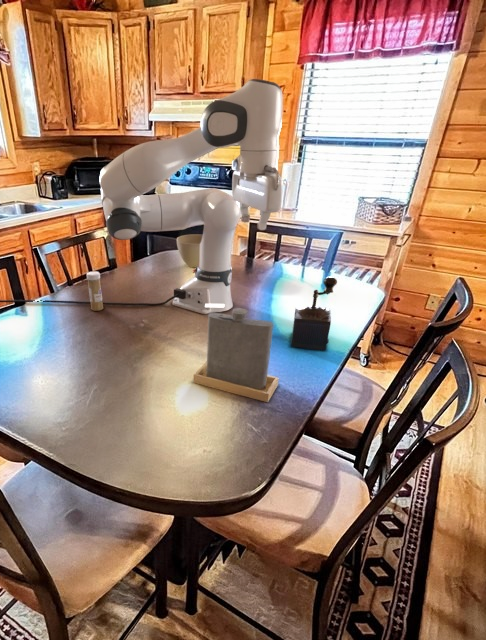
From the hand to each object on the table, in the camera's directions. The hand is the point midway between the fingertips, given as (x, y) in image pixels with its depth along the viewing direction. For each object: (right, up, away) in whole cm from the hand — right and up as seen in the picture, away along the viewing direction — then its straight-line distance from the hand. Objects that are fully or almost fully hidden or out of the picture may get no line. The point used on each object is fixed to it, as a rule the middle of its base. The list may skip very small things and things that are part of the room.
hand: (252, 225), depth 105 cm
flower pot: (-10, +16, +92) cm, 94 cm away
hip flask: (-4, -40, +3) cm, 40 cm away
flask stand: (-4, -40, +3) cm, 41 cm away
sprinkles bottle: (-49, -13, +48) cm, 69 cm away
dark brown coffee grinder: (+22, -26, +25) cm, 42 cm away
